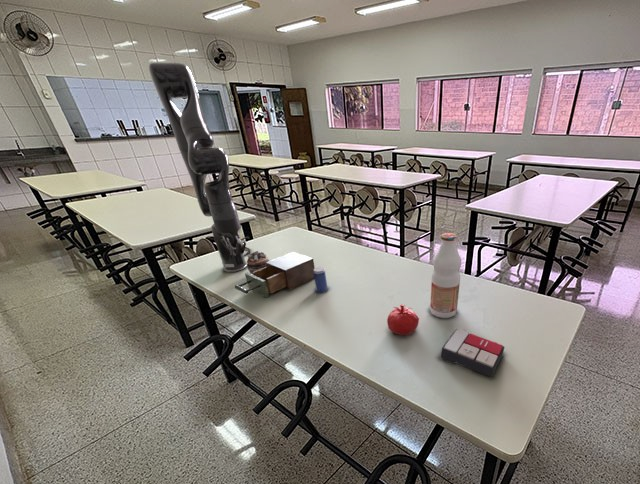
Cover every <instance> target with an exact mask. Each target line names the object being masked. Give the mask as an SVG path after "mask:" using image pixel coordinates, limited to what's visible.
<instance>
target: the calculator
mask: <svg viewBox="0 0 640 484" xmlns="http://www.w3.org/2000/svg"><path fill="white" fill-rule="evenodd" d="M504 351H505V346H504V345H503V344H501V343H498V342H495V341H492V340H490V339H487V338H484V337H481V336H479V335H476V334H473V333H469V332H466V331H463V330H461V329H458V328H456V329H455V330H454V331H453V332H452V334H451V335H450V337H449V338H448V339H447V341H446V342H445V343H444V344H443V346H442V347H441V353H440V358H441V359H442V360H444V361H447V362H449V363H452V364H453V363H454V364H458V365H461V366H463V367H466V368H468V369H471V370H473V371H475V372H477V373H479V374H482V375H485V376H487V377H489V378H492V377H493V375H494V374H495V372H496V370H497V368H498V365H499V364H500V363H499V362H500V361H501V359H502V357H503V355H504Z"/></svg>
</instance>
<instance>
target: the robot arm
mask: <svg viewBox="0 0 640 484" xmlns="http://www.w3.org/2000/svg"><path fill="white" fill-rule="evenodd" d="M148 71H149V74H150V78H151V80H152V83H153V86H154V88H155V90H156V93H157V94H158V97H159V99H160V102H161V104H162V106H163V109H164V112H165V114H166V116H167V118H168V122H169V123H170V126H171V129H172V132H173V136H174V138H175V142H176V144H177V148H178V150H179V152H180V155H181V158H182V160H183V162H184V165H185V167H186V171H187V173H188V174H189V175H188V176H189V177H190V181H191V183H192V186H193V189H194V190H193V191H194V193H195V196H196V199H197V203H198V206H199V209H200V211H201V213H202V214H203V215H204V217H209V218H210V217H211V219H212V221H213V224H212V225H211V226H210V229H211V233H212V236H213V239H214V242H215V245H216V248H217V251H218V254H219V258H220V262H221V264H222V267H223V271H225V272H227V273H233V272H234V273H235V272H239V271H242V270H244V269H247V261H246V259H245V257H246V256H248V255H249V254H250V253H251V252H252V251H251V249H250V248H248V247H247V242H246V241H244V240H245V239H248V240H249V239H251V238H250V237H249V236H245V237H242V238H241V236H240V234H239V233H240V232H239V230H241V228H242V226H241V222H240V218H239V215H238V214H239V213H238V211H237V207H236V205H235V202H234V199H233V196H232V191H231V188H230V179H229V178H230V177H229V173H230V160H229V156H228V155H227V153H226V151H225V150H224V149H223V148H220V147H214V143H215V142H214V138H213V135H212V133H211V131H210V129H209V126H208V124H207V122H206V119H205V116H204V112H203V107H202V103H201V100H200V95H199V93H198V92H199V91H198V89H197V87H196V83H195V80H194V77H193V75H192V72H191V70H190V69H189V67H188V66H187V65H186V64H184V63H181V62H150V63H149V65H148ZM173 99H187V100H186V102H185V105H184V107H183V109H182V111H181V112H180V110H179V109H178V108H177V106H176V105H175V103H174V102H173ZM214 174H215V175H217V174H218V175H217V177H216V179H214V180H212V181H209V182H206V179H207V176H208V175H214ZM245 249H246V250H248V251H247V252H246V253H245ZM244 253H245V254H244Z"/></svg>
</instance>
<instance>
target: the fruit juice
mask: <svg viewBox="0 0 640 484" xmlns="http://www.w3.org/2000/svg"><path fill="white" fill-rule="evenodd" d="M440 241H441V244H440V245H439V248H438V250H437V252H436V253H435V255H434V256H433V259H432V265H433V270H432V274H431V283H430V284H431V285H430V286H431V287H430V305H429V309H430V312H431V314H432V315H433V316H434V317H437V318H440V319H448V318H449V319H450V318H452V317H454V316H455V315H456V314H457V312H458V304H459V295H460V284H461V272H460V269H461V266H462V257H461V255H460V253H459V251H458V247H457V241H458V235H457V234H456V233H454V232H444V233H442V234H441V236H440Z"/></svg>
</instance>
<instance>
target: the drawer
mask: <svg viewBox="0 0 640 484" xmlns="http://www.w3.org/2000/svg"><path fill="white" fill-rule="evenodd" d="M252 273H253V275H252V274H250V272H249V271H247V272H245V273H244V276H245V280H246V282H243V283H240V284H239V285H238V284H235V285H234V287H233V288H234V289H236V290H237V291H239V292H241V293H243V294H246V295H248V294H249V292H254V293H256V294H258V295H260V296H262V297H264V298H266V299H267V298H270V294H274V293H276V292H278V291H280V290H282V289H285V288H284V287H287V282H286V277H285V273H284V271H281V270H279V269H276V268H274V267H271V266H267V267H264V268H262V269H259V270H257V271H254V272H252ZM246 285H247V287H248V289H246V288H244V287H243V286H246Z"/></svg>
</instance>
